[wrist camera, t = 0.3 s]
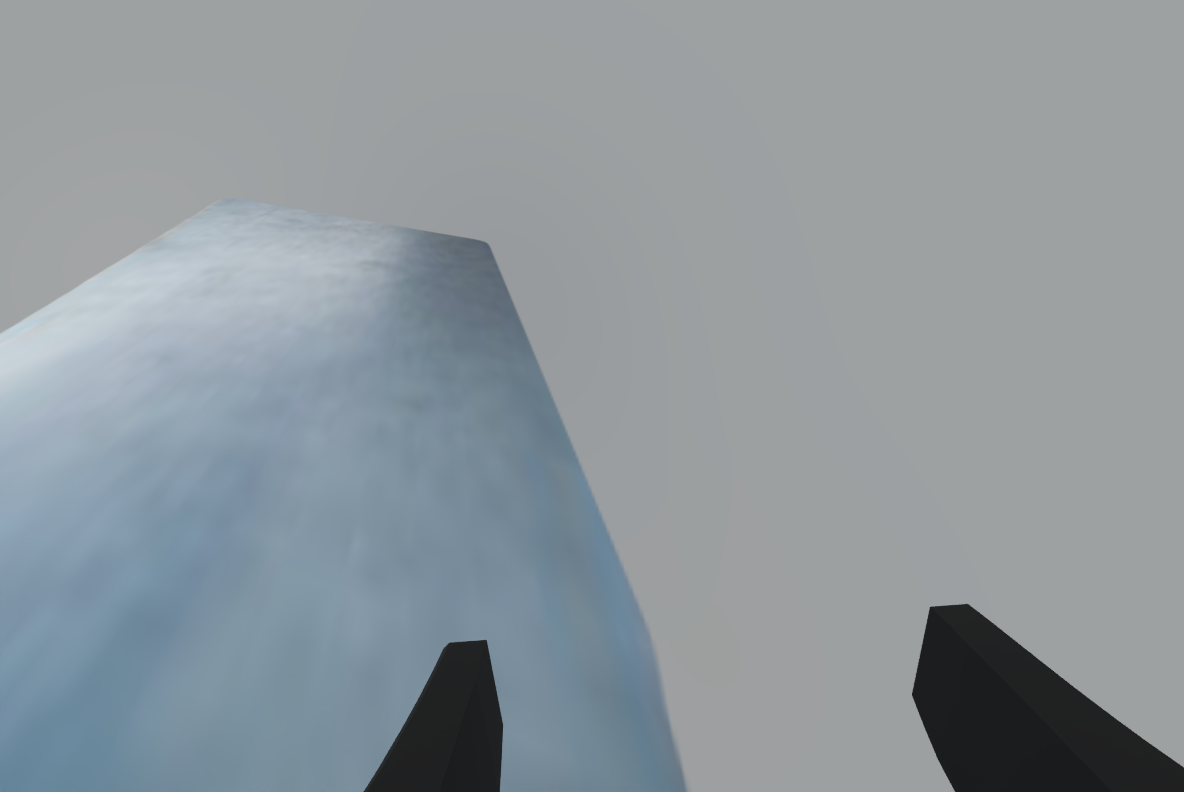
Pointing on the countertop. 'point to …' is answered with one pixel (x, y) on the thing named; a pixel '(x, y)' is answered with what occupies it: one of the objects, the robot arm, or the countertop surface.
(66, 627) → the countertop surface
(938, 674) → the robot arm
